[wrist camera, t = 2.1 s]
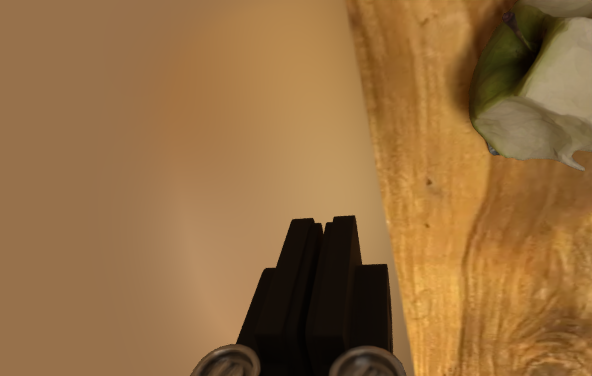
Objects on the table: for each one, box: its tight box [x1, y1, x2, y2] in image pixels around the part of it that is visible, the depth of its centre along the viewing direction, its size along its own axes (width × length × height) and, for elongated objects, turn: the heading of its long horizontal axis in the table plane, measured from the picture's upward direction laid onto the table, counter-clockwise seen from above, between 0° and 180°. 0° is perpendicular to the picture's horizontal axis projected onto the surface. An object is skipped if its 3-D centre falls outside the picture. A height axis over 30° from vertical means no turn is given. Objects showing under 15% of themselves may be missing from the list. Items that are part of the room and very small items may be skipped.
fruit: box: [469, 0, 592, 171], centre depth 19 cm, size 9×9×8 cm
